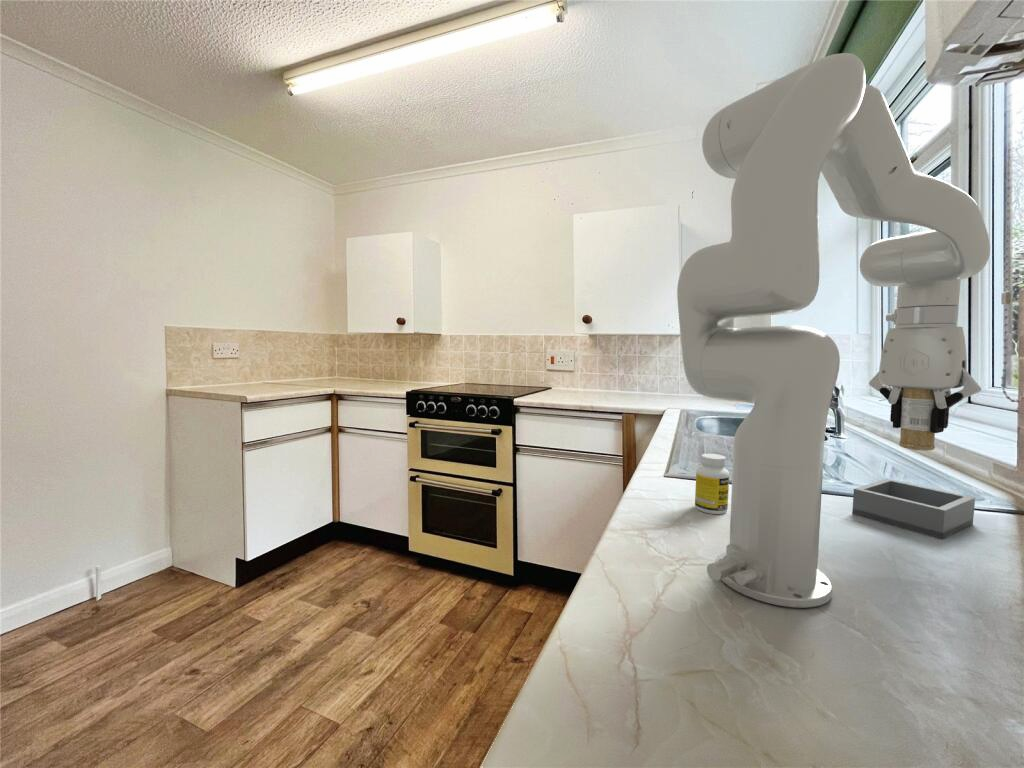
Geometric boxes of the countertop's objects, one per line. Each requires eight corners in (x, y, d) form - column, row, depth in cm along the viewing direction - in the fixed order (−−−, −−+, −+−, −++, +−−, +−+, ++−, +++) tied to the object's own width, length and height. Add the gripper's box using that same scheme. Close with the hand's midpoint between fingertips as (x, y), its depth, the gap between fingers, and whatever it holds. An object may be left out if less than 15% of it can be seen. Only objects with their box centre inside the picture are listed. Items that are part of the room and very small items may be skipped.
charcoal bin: (942, 539, 69) (944, 510, 68) (852, 513, 79) (853, 488, 79) (972, 524, 74) (975, 497, 74) (885, 502, 85) (886, 478, 85)
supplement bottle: (721, 517, 78) (724, 461, 77) (690, 509, 81) (691, 456, 80) (731, 509, 82) (734, 455, 81) (701, 502, 85) (703, 450, 84)
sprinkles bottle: (938, 448, 75) (944, 367, 74) (929, 452, 73) (935, 368, 72) (903, 444, 79) (908, 367, 78) (893, 447, 76) (898, 367, 75)
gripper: (854, 321, 79) (848, 424, 81) (989, 315, 65) (978, 441, 66) (875, 321, 83) (869, 420, 85) (1007, 316, 68) (997, 436, 70)
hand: (917, 428), depth 75 cm, fingers closed on sprinkles bottle, 4 cm apart
